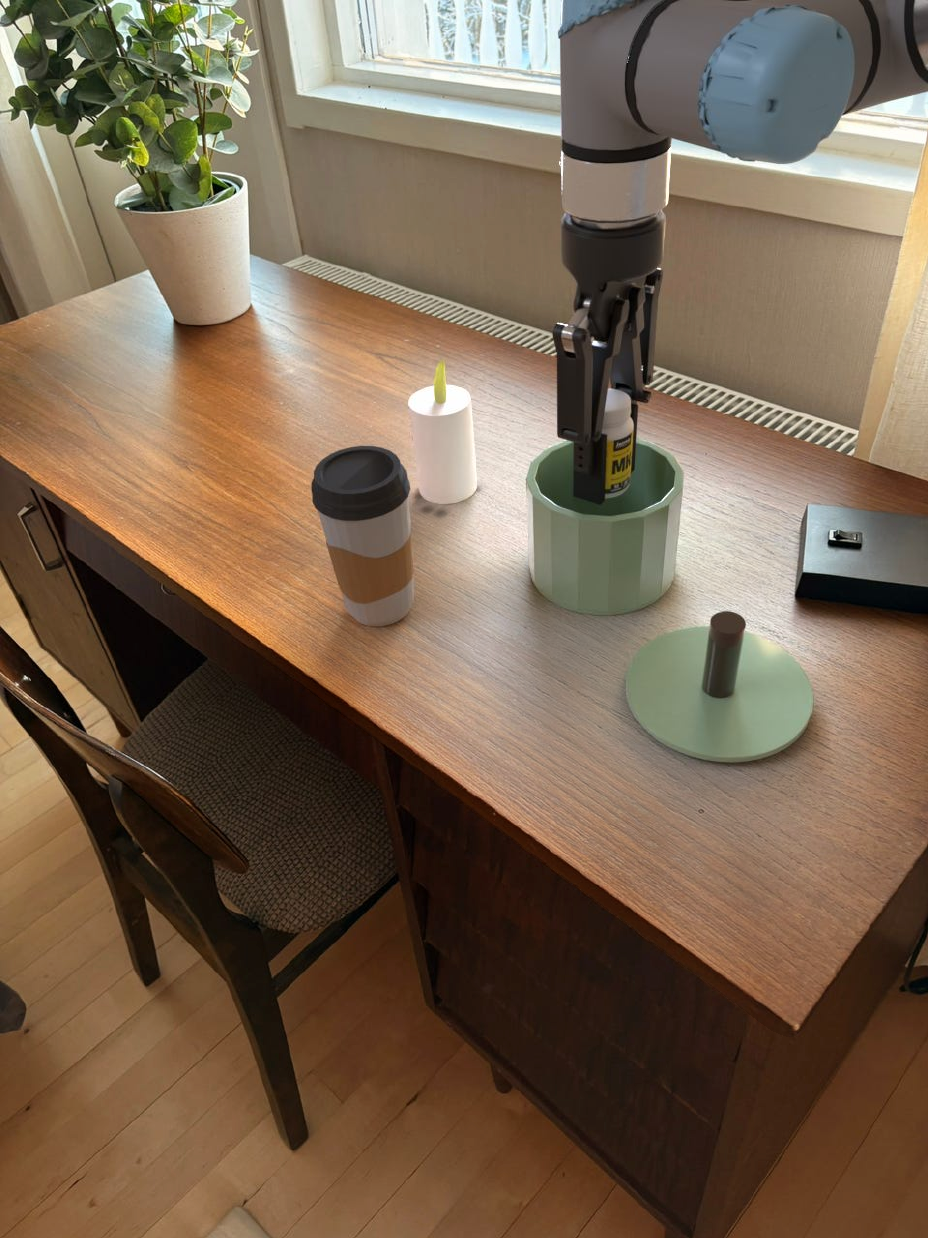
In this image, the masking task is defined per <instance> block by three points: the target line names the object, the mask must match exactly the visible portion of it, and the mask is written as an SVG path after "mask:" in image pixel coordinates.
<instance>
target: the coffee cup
mask: <svg viewBox="0 0 928 1238" xmlns="http://www.w3.org/2000/svg"><path fill="white" fill-rule="evenodd" d="M310 484H311V487H310V488H311V494H312V495H311V496H312V498H311V500H312V501H311V502H312V504H313V506H314V508H315V509H316V511H317V514H318V517H319V520H320V524H321V527H322V531H323V534H324V537H325V545H326V548H327V552H328V555H329V557H330V561H331V564H332V565H331V566H332V568H333V571H334V574H335V578H336V582H337V584H338V586H339V590H340V591H341V595H342V598H343V601H344V605H345V608H346V610H347V612H348V614H349V615H350V616H351V617H352V618H353V619H354V620H355V621H356V622H358V623H359V624H362V625H364V626H368V627H384V626H386V627H387V626H389V625H393V624H395V623H398V622H399V621H401V620H403V619H404V618H405V617H406V616H407V615H408V614H409V612H410V611H411V609H412V607H413V606H414V601H415V585H414V572H415V570H414V554H413V553H414V552H413V535H412V534H413V533H412V525H411V517H410V516H411V515H410V499H409V495H410V492H411V483H410V480H409V477H408V471H407V468H405V467H404V465H403V464H402V463H401V459H400V458H399V457H398V455H397V454H395V453H394V452H393V451H392V450H390V449H387V448H384V447H382V446H376V445H357V446H349V447H345V448H342V449H339V450H337V451H333V452H331V453H329V454H328V455H326V456H325V457H324V458H322V459H321V460H320V461H319V462H318V463H317V464H316V466H315V467H314V470H313V479H312V481H311V483H310Z"/></svg>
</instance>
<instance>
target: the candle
mask: <svg viewBox="0 0 928 1238" xmlns="http://www.w3.org/2000/svg"><path fill="white" fill-rule="evenodd" d="M407 404H408V411H409V420H410V428H411V439H412V444H413V451H414V452H413V453H414V459H415V467H416V475H417V483H418V490H419V494H420V496H421V498H423V499H424V500H425V501H428V502H430V503H432V504H440V505H451V504H456V503H460V502H464V501H466V500H468V499H469V498H470V497H472V496H473V495H474V494H475V492H476V491H477V490H478V489H477V488H478V476H477V464H476V463H477V462H476V452H475V450H476V448H475V438H474V437H475V436H474V424H473V423H474V422H473V411H472V410H473V409H472V398H471V394H470V393H469V392H468V390H467V389H465V388H463V387H460V386H457V385H453V384H447V380H446V364H445V361H444V359H442V360H440V361H439V363H437V367H436V369H435V372H434V378H433V385H430V386H426V387H422V388H420V389H418V390H416V391H415V392H414V393H412V394H411V395H410V397H409V398H408V403H407Z"/></svg>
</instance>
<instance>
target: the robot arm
mask: <svg viewBox="0 0 928 1238" xmlns="http://www.w3.org/2000/svg"><path fill="white" fill-rule="evenodd" d="M661 1H662V0H560V20H559V21H560V22H559V29H558V31H557V39H559V59H560V60H559V68H560V70H559V75H560V76H559V77H560V79H559V80H560V81H559V82H560V140H561V141H560V143H561V144H560V147H561V157H560V158H559V161H558V162H559V167H560V168H561V207H562V209H563V211H564V212H565V213H564V215H562V217H561V219H560V262H561V265H562V267H563V268H564V270H565V271H566V272H567V273H569V274H570V275H571V276H572V278H573V279H574V280H575V282H576V289H575V293H574V294H575V295H574V299H573V304H572V309H573V315H572V317H571V319H569V321H568V323H567V324H565V323H561V322H560V323H559V322H557V323H555V324H554V326H553V329H552V340H553V344H554V348H555V352H556V436H557V438H558V439H562V440H563V441H565V440H568V441H571V442H574V460H573V496H574V497H577V498H580V499H583V500H586V501H589V502H592V503H596V504H599V505H601V504H602V503H603V502H604V501H605V484H606V455H607V435H606V434H602V426H603V419H604V413H605V406H606V399H607V392H608V389H609V385H610V389H616V390H620V391H623V392H625V393H626V394H628V395H629V397H630V398H631V414H630V417H631V418H632V420H633V424H634V431H633V445H632V461H631V473H632V472H633V471H634V470H635V454H636V438H638V436H637V435H638V417H639V404H638V403H643V404H648V403H649V402H650V400H651V397H652V391H650V390H645V389H644V385H645V386H650V385H651V384H652V382H653V379H654V370H655V369H654V367H655V354H656V339H657V324H658V308H659V296H660V292H661V287H662V282H663V277H664V270H663V269H662V268H659V267H660V266H661V265H662V263H663V260H664V255H665V253H664V251H665V240H666V239H665V237H666V225H667V224H666V223H667V217H666V214H665V213H664V212H663V210H664V209H665V208H666V207H667V205H668V203H669V192H670V191H669V190H670V189H669V188H670V171H671V157H672V156H671V155H672V154H671V153H672V139H673V140H677V141H680V142H684V143H687V144H691V145H694V146H698V147H701V148H705V149H709V150H712V151H716V152H719V153H722V154H724V155H727V157H729V158H731V159H738V160H739V161H743V162H753V163H754V162H761V163H762V162H763V163H769V164H776V165H789V164H794V163H797V162H800V161H802V160H805V159H806V158H807V157H809V156H811V155H812V154H814V153H815V151H816V150H817V148H818V146H819V144H820V143H821V142H822V141H823V140H826V139H828V138H829V137H830V136H831V134H833V133H834V131H835V129H836V127H837V126H838V125H839V123H840V121H841V118H842V117H843V116H846V115H849V114H852V113H855V112H859V111H861V110H865V109H868V108H871V107H874V106H879V105H882V104H885V103H889V102H893V101H896V100H900V99H904V98H908V97H911V96H916V95H920V94H923V93H928V0H738V1H737V0H665V1H664V2H662V3H661V4H660V5H658V6H657V7H656V8H655V9H654V10H653V11H652V12H651V13H650V15H649V16H648V17H647V18H646V20H645V21H644V23H643V25H642V26H641V28H640V30H639V32H638V34H637V36H636V38H635V41H634V44H633V46H632V50H631V53H630V57H629V61H628V63H627V59H628V54H629V51H630V48H631V45H632V42H633V39H634V37H635V35H636V33H637V30H638V28H639V26H640V25H641V23H642V22H643V20H644V19H645V17H646V16H647V15H648V13H649V12H650V11H651V10H652V9H653V8H654V7H655V6H656V5H657V4H658V3H659V2H661Z"/></svg>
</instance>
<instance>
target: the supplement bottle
mask: <svg viewBox="0 0 928 1238" xmlns="http://www.w3.org/2000/svg"><path fill="white" fill-rule="evenodd" d="M630 414H631V398H630V397H629V395H628V394H626V393H625V392H623V391H620V390H616V389H611V388H608V392H607V399H606V406H605V413H604V419H603V426H602V434H606V435H607V455H606V484H605V498H613V497H616V496H619V495H621V494H623V493H624V492H625V491H626V490H627V489H628V487H629V485H630V476H631V461H632V445H633V431H634V424H633V420H632V418H631V417H630Z"/></svg>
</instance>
